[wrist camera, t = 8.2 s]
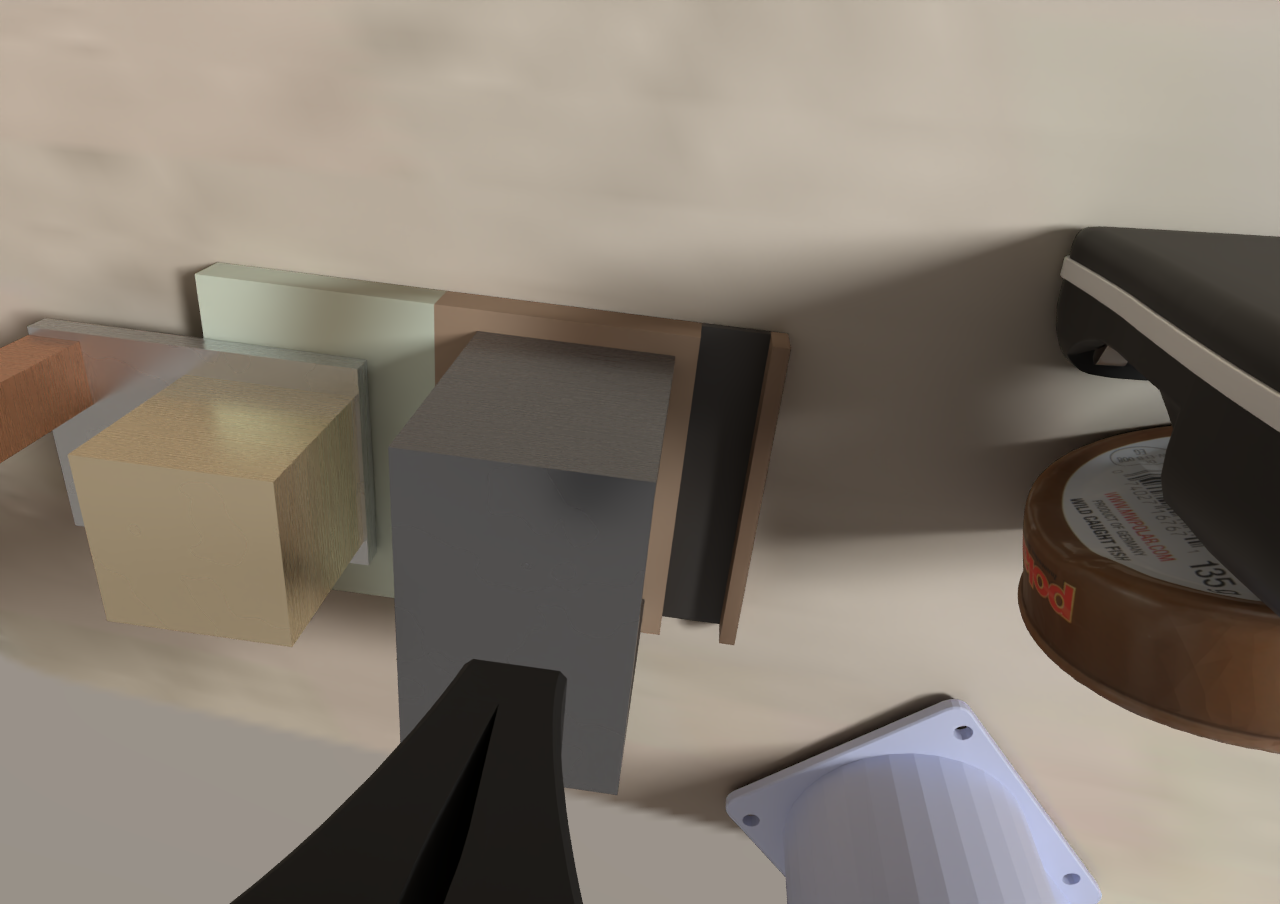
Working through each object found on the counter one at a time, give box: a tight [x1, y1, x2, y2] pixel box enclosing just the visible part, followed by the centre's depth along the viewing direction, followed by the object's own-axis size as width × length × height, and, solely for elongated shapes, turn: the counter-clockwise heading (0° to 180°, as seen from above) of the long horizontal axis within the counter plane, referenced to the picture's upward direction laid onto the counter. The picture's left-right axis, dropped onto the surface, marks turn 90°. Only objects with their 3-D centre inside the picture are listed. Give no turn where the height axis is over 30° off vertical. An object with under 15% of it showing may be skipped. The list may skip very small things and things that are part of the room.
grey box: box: [388, 331, 675, 795], centre depth 19 cm, size 4×7×6 cm, turn 174°
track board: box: [195, 262, 791, 645], centre depth 22 cm, size 14×8×1 cm, turn 84°
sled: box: [0, 318, 377, 647], centre depth 18 cm, size 8×5×8 cm
